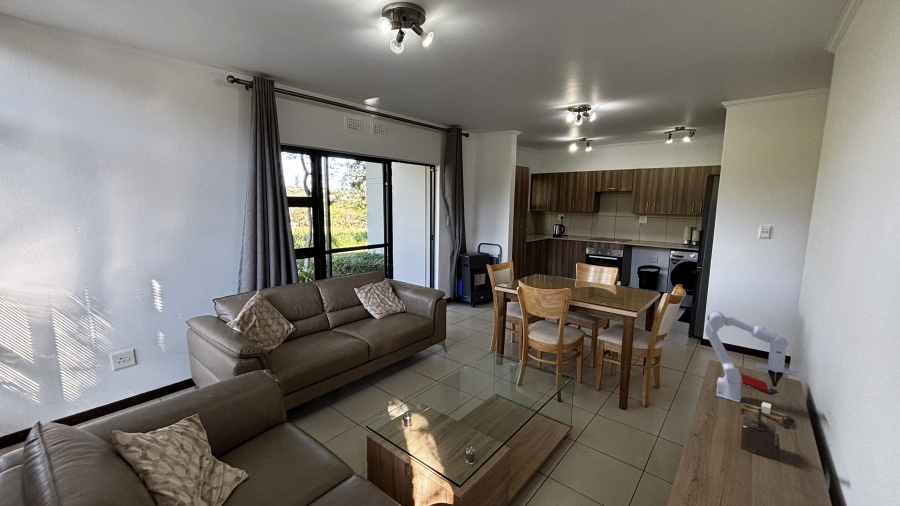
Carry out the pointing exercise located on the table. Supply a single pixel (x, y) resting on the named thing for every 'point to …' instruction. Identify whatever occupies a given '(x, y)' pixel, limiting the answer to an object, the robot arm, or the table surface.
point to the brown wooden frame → (753, 410)
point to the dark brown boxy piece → (761, 434)
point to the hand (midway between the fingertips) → (774, 386)
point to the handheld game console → (757, 384)
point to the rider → (766, 408)
